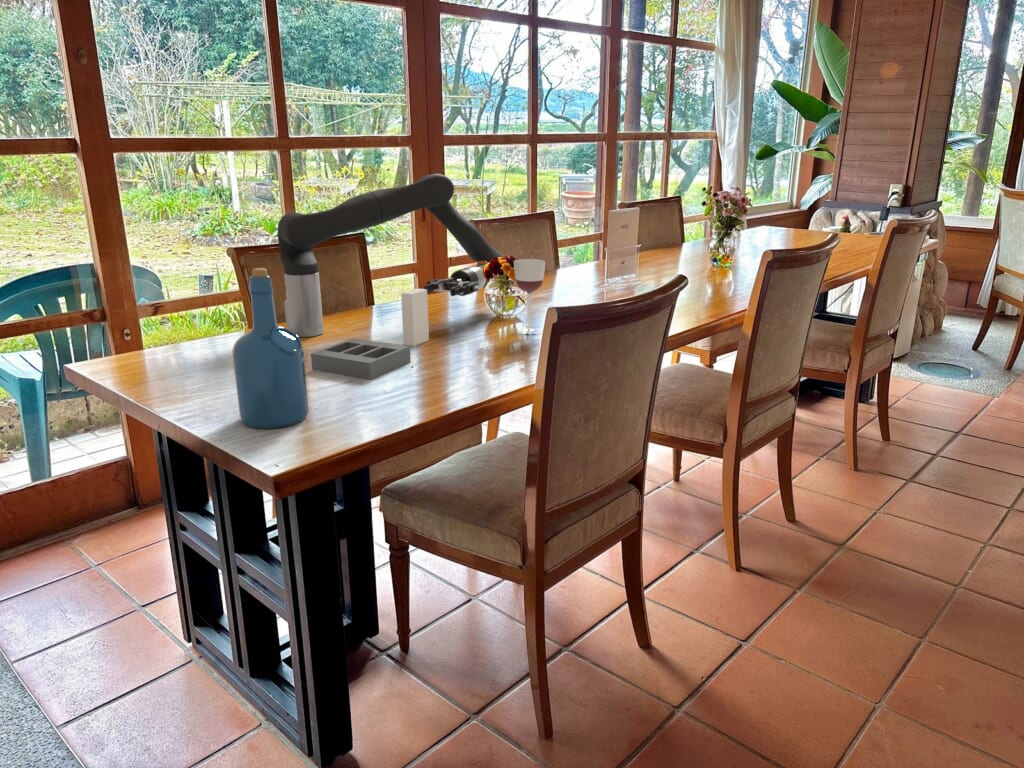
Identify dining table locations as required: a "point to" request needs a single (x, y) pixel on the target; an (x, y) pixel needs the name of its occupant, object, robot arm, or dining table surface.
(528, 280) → the wineglass
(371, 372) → the rack
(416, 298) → the white box
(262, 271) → the wine bottle
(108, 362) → the dining table surface
